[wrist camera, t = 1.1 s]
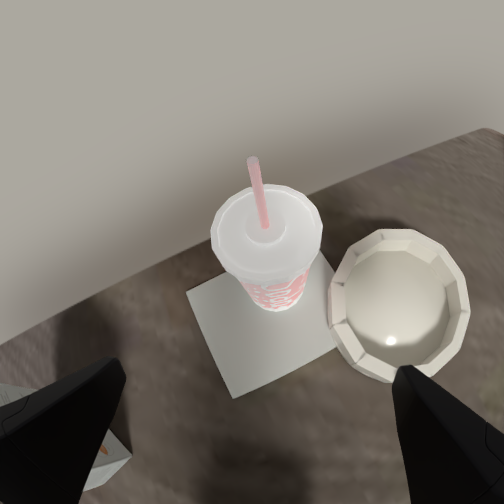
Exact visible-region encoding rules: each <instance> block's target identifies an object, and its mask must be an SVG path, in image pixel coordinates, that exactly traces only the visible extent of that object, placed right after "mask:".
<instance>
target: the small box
mask: <svg viewBox="0 0 504 504" xmlns="http://www.w3.org/2000/svg"><path fill="white" fill-rule="evenodd" d="M35 391H38V390H36V389H30V388H24V387H18V386H13V385H8V384H3V383H0V406H3V405H6V404H8V403H11V402H14V401H16V400H18V399H20V398H23V397H25V396H27V395H29V394H31V393H33V392H35ZM131 457H132V454H131V453H130V452H129V451H128V450H127V449H126V448H125V447H124V446H123V445H122V443H121V442H120V441H119V440H118V439H117V438H116V436H115V435H114V434H113V433H112V432H111V431H110V429H108V431H107V433H106V436H105V438H104V440H103V443H102V445H101V447H100V450H99V452H98V454H97V457H96V459H95V462H94V464H93V466H92V469H91V471H90V474H89V477H88V479H87V482H86V484H85V487H84V489H83V491H86V490H89V489H92V488H95V487H98V486H100V485H103V484H104V483H105V482H106V481H107V480H108V479H109V478H110V477H112V476H113V475H114V474H115V473H116V472H117V471H118V470H119V469H120V468H121V467H122V466H123V465H124V464H125V463H126V462H127V461H128V460H129V459H130V458H131Z"/></svg>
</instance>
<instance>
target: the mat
mask: <svg viewBox="0 0 504 504" xmlns="http://www.w3.org/2000/svg"><path fill="white" fill-rule="evenodd" d="M334 275H335V272H334V271H333V269H332V268H331V266H330V265H329V263H328V262H327V260H326V259H325V257H324V256H323V254H322V253H321V251H320V250H319V252H318V254H317V255H316V257H315V259H314V260H313V262H312V263H311V265H310V269H309V272H308V276H307V279H306V283H305V286H304V290H303V293H302V295H301V297H300V298H299V300H298V301H297V303H296V304H294V305H293V306H291V307H290V308H288V309H287V310H282V311H277V312H275V311H269V310H265V309H263V308H262V307H260V306H259V305H257V304H256V303H255V302H254V301H253V299H252V298H251V297H250V295H249V294H248V293H247V291H246V290H245V288H244V287H243V286H242V284H241V283H240V282H239V280H238V279H237V278H236V277H235V276H233V275H232V274H230V273H229V272H225V273H223V274H221V275H219V276H217V277H215V278H213V279H211V280H209V281H207V282H205V283H203V284H201V285H199V286H197V287H195V288H193V289H191V290H189V291H187V292H186V294H187V296H188V299H189V301H190V304H191V306H192V309H193V311H194V314H195V316H196V319H197V321H198V324H199V326H200V328H201V331H202V333H203V335H204V338H205V340H206V342H207V345H208V347H209V349H210V351H211V354H212V356H213V358H214V360H215V362H216V365H217V367H218V369H219V371H220V373H221V375H222V377H223V380H224V382H225V384H226V386H227V388H228V390H229V392H230V394H231V396H232V398H233V399H234V398H237V397H239V396H241V395H244V394H246V393H248V392H250V391H253V390H255V389H257V388H259V387H261V386H263V385H266V384H268V383H270V382H272V381H274V380H276V379H278V378H280V377H282V376H284V375H286V374H288V373H290V372H292V371H294V370H296V369H297V368H299V367H301V366H303V365H305V364H307V363H309V362H310V361H312V360H314V359H316V358H318V357H319V356H321V355H323V354H325V353H326V352H328V351H330V350H332V349H333V348H335V347H336V344H335V342H334V340H333V338H332V335H331V333H330V332H329V331H330V330H329V323H328V314H327V308H328V289H329V286H330V283H331V280H332V278H333V277H334Z"/></svg>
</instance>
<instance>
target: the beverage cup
mask: <svg viewBox="0 0 504 504" xmlns="http://www.w3.org/2000/svg"><path fill="white" fill-rule="evenodd" d="M246 161H247V165H248V170H249V174H250V178H251V183H252V187H248V188H246V189H244V190H242V191H240V192H238V193H237V194H235V195H233V196H232V197H229V199H228V200H227V201H226V202H225V203H224V204H223V205H222V206H221V208H220V209H219V210H218V211H217V212H216V215H215V218H214V221H213V223H212V226H211V229H210V232H211V244H212V249H213V251H214V253H215V254H216V256H217V258H218V259H219V261H220V263H221V264H222V266H223V267H224V268H225V270H226V271H227V272H229V273H230V274H232V275H233V276H235V277H236V278H237V279H238V280H239V282H240V283H241V284H242V286H243V287H244V288H245V290H246V291H247V293H248V294H249V295H250V297H251V298H252V299H253V301H254V302H255V303H256V304H257V305H259V306H260V307H262V308H263V309H265V310H269V311H275V312H277V311H282V310H287V309H288V308H290V307H291V306H293V305H294V304H296V303H297V301H298V300H299V298H300V297H301V295H302V293H303V290H304V286H305V283H306V279H307V276H308V272H309V269H310V265H311V263H312V262H313V260H314V259H315V257H316V255H317V254H318V252H319V249H320V244H321V236H322V229H323V225H322V222H321V219H320V216H319V213H318V210H317V208H316V207H315V206H314V204H313V203H312V202H311V201H310V200H309V199H308V198H307V197H306V196H305V195H304V194H302V193H300V192H298V191H296V190H294V189H292V188H290V187H287V186H282V185H273V184H263V183H262V177H261V171H260V165H259V160H258V158H257V157H256V156H250V157H248V158H247V160H246Z"/></svg>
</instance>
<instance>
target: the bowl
mask: <svg viewBox="0 0 504 504" xmlns="http://www.w3.org/2000/svg"><path fill="white" fill-rule="evenodd" d="M442 247H443V246H442V245H441V244H439V243H437V242H435V241H434V240H432V239H430V238H428V237H426V236H424V235H423V234H421V233H419V232H417V231H415V230H412V229H379V230H376V231H375V232H373V233H372V234H370V235H368V236H367V237H365V238H363V239H362V240H360V241H358V242H356V243H355V244H353V245H351V246H350V247H349V248H348V250H347V252H346V254H345V256H344V257H343V259H342V261H341V263H340V265H339V267H338V269H337V271H336V273H335V275H334V277H333V278H332V280H331V283H330V286H329V289H328V308H327V314H328V323H329V330H330V331H329V332H330V333H331V335H332V338H333V340H334V342H335V344H336V348H337V350H338V351H339V353H340V354H341V355H342V357H343V358H344V359H345V360H346V361H347V362H348V364H349V365H351V366H352V367H353V368H354V369H356V370H357V371H359V372H360V373H362V374H364V375H366V376H368V377H370V378H373V379H377V380H379V381H381V382H383V383H393V381H394V378H395V375H396V372H397V369H398V367H399V366H402V365H408V364H411V365H413V366H415V367H416V368H417V369H419V370H420V371H421V372H422V373H424V374H425V375H426V376H428V377H431V376H433V375H434V374H435V373H436V372H437V371H439V370H440V369H441V368H442V367H443V366H444V365H445V364H446V363H447V362H448V361H449V360H450V359H451V358H452V357H453V356H454V355H455V354H456V353H457V352H458V351H459V349H460V348H461V345H462V341H463V338H464V335H465V332H466V328H467V325H468V321H469V317H470V305H469V299H468V293H467V287H466V282H465V277H464V275H463V273H462V272H461V270H460V269H459V267H458V266H457V264H456V263H455V262H454V260H453V259H452V257H451V256H450V255H449V253H448V252H447V250H446V249H445V248H444V247H443V248H442Z"/></svg>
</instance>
